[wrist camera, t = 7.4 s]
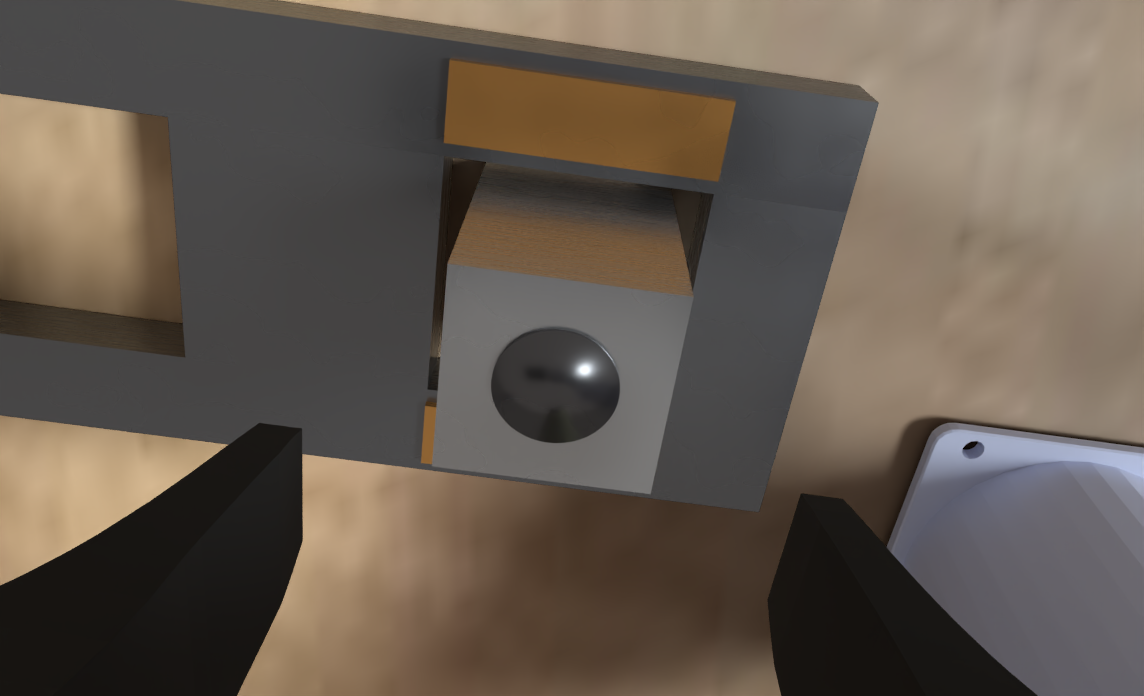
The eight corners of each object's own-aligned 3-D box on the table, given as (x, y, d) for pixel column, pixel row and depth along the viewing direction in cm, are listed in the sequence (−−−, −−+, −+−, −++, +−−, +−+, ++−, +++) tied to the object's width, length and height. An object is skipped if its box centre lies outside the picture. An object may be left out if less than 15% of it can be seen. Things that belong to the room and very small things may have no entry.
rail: (859, 85, 19) (881, 105, 17) (750, 475, 24) (760, 517, 22) (-230, -74, 18) (-305, -68, 17) (-119, 363, 23) (-169, 398, 21)
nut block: (669, 181, 20) (694, 299, 15) (638, 341, 22) (650, 497, 17) (488, 156, 20) (446, 265, 15) (472, 319, 22) (430, 469, 16)
